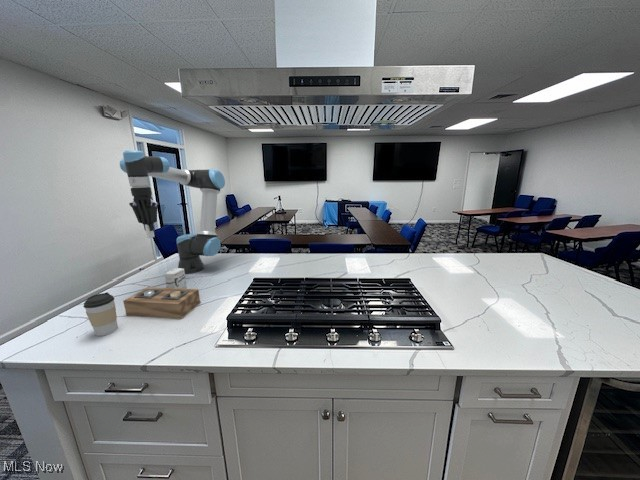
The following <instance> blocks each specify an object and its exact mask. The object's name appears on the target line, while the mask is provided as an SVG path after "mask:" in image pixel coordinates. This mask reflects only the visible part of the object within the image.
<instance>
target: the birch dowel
mask: <svg viewBox="0 0 640 480" xmlns="http://www.w3.org/2000/svg"><path fill="white" fill-rule="evenodd" d="M180 295H181V293H180V291H175V292H172V293H170V296H171V297H178V296H180Z"/></svg>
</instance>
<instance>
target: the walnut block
mask: <svg viewBox="0 0 640 480" xmlns="http://www.w3.org/2000/svg"><path fill="white" fill-rule="evenodd" d="M148 290H154V292H155V293H154V294H153V295H151V296H144V292H145V291H148ZM175 291H180V293H181V295H180V296H178V297H171V296H170V293H172V292H175ZM200 297H201V296H200V290H199V288H187V289H184V288H167V287H159V286H156V287H155V286H148V287H146V288H144V289H143V290H140V291H138V292H137V293H135V294H133V295H131V296H129V297H128V298H125V299H124V300H122V301H123V305H124V307H123V308H124V311H125V315H126V316H130V317H133V316H134V317H146V318H147V317H149V318H166V319H183V318H184V317H185V316H187V314H189V313H190V312H191V311H192V310H193V309H195V308H196V307H197V306H198V305H199V304H200V303H201V298H200Z"/></svg>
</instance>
